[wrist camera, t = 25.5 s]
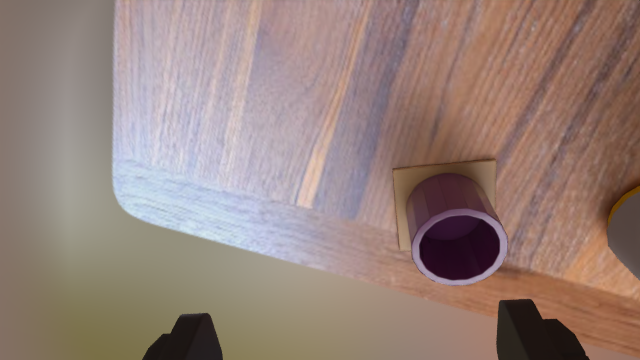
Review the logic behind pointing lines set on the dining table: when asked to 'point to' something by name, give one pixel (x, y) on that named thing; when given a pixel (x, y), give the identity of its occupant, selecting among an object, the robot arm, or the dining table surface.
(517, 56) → the dining table surface
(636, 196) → the soap bottle
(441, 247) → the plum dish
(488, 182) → the coaster
